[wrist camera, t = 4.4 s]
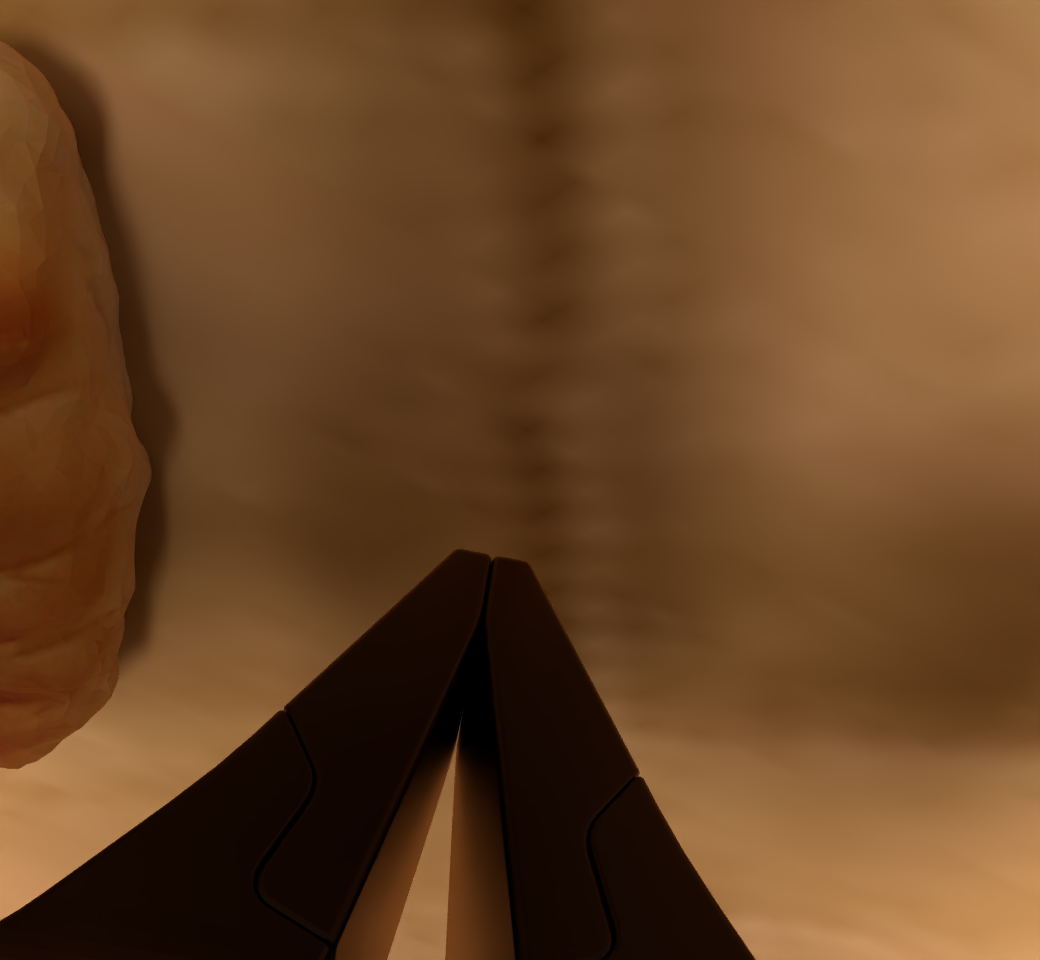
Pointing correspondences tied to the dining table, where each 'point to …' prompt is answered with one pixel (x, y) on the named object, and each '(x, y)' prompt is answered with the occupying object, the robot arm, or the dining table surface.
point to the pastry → (58, 432)
